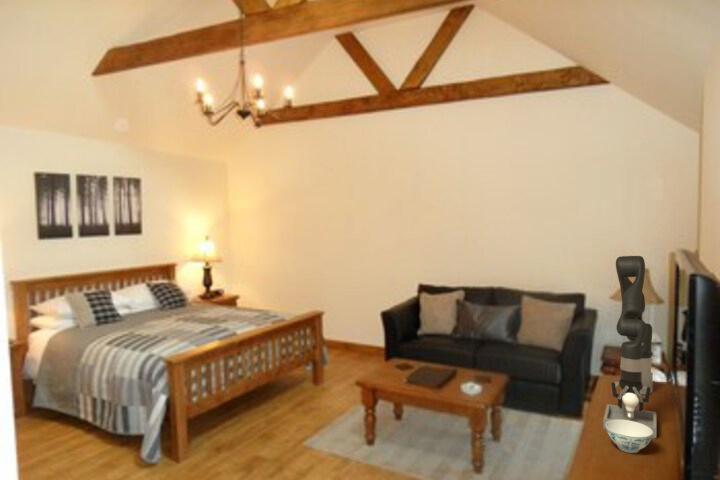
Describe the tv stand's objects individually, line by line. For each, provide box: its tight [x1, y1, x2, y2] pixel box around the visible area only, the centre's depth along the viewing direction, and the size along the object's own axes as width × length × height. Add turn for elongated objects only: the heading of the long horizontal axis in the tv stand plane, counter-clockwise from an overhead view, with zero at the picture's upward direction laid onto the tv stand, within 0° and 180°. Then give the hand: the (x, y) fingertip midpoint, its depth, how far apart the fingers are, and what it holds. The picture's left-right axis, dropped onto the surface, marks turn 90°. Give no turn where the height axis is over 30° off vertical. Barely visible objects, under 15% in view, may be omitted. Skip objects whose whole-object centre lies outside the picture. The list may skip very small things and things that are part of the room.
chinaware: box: [605, 420, 653, 454], centre depth 178 cm, size 15×15×8 cm
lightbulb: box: [622, 393, 640, 418], centre depth 198 cm, size 6×6×11 cm
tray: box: [602, 403, 657, 439], centre depth 198 cm, size 18×18×4 cm
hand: (630, 409), depth 198 cm, fingers closed on lightbulb, 6 cm apart
